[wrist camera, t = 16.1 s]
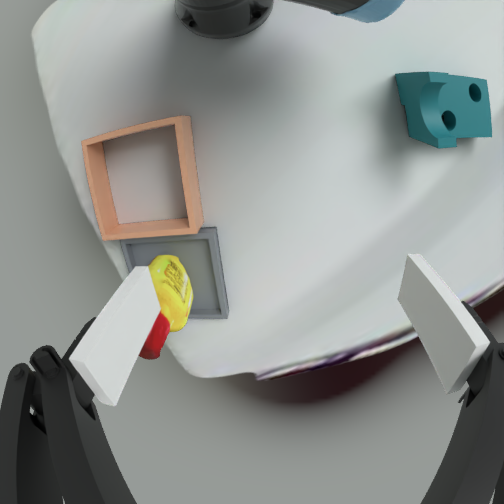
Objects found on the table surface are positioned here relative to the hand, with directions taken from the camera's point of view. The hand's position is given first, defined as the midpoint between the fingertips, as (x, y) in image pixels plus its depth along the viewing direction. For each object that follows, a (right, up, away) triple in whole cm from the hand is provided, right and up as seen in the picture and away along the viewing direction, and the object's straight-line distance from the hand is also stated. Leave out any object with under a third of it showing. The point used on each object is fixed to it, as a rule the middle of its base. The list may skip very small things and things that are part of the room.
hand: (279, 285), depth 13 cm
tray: (-16, -3, +38) cm, 41 cm away
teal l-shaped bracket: (+32, +28, +20) cm, 46 cm away
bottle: (-15, -3, +37) cm, 40 cm away
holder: (-19, +14, +30) cm, 38 cm away
